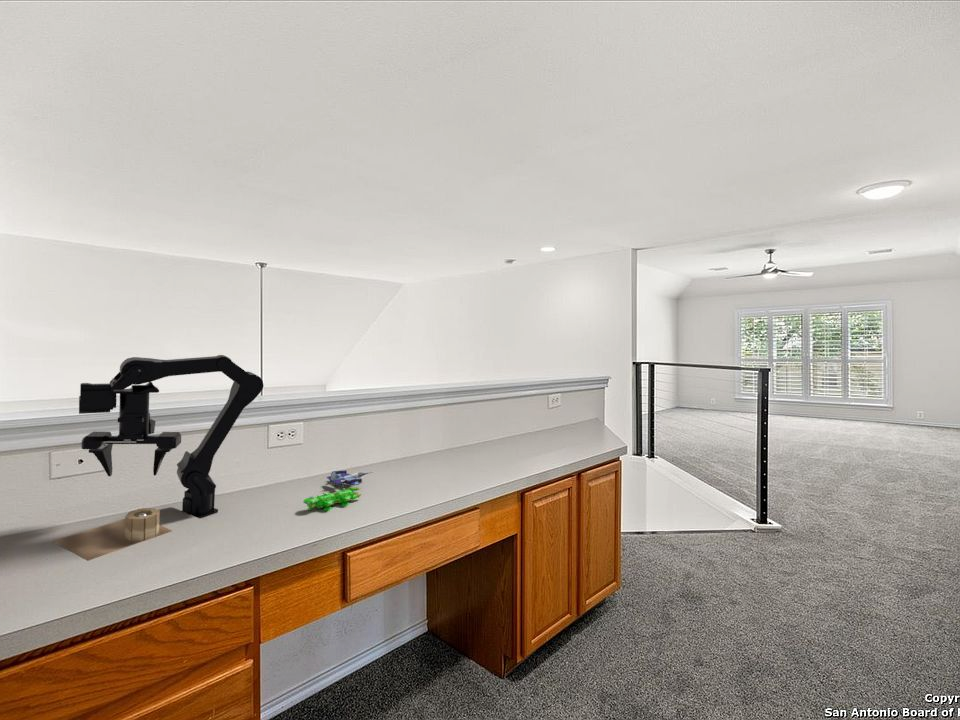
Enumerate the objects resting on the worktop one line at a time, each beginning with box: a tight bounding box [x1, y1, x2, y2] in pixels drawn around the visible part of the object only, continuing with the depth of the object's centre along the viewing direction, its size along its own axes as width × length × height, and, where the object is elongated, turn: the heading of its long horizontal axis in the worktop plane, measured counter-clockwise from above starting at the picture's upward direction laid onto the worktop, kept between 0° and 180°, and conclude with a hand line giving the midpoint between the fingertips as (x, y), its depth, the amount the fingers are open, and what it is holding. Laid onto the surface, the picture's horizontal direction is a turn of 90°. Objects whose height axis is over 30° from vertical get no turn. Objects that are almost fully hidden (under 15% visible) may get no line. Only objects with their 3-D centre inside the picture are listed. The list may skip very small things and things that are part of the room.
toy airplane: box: [326, 470, 373, 490], centre depth 157 cm, size 13×14×4 cm
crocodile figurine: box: [303, 486, 363, 511], centre depth 140 cm, size 7×18×4 cm, turn 138°
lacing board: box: [52, 518, 173, 561], centre depth 110 cm, size 17×14×2 cm
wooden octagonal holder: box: [124, 507, 161, 542], centre depth 111 cm, size 6×6×5 cm
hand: (132, 475), depth 118 cm, fingers open, 9 cm apart
